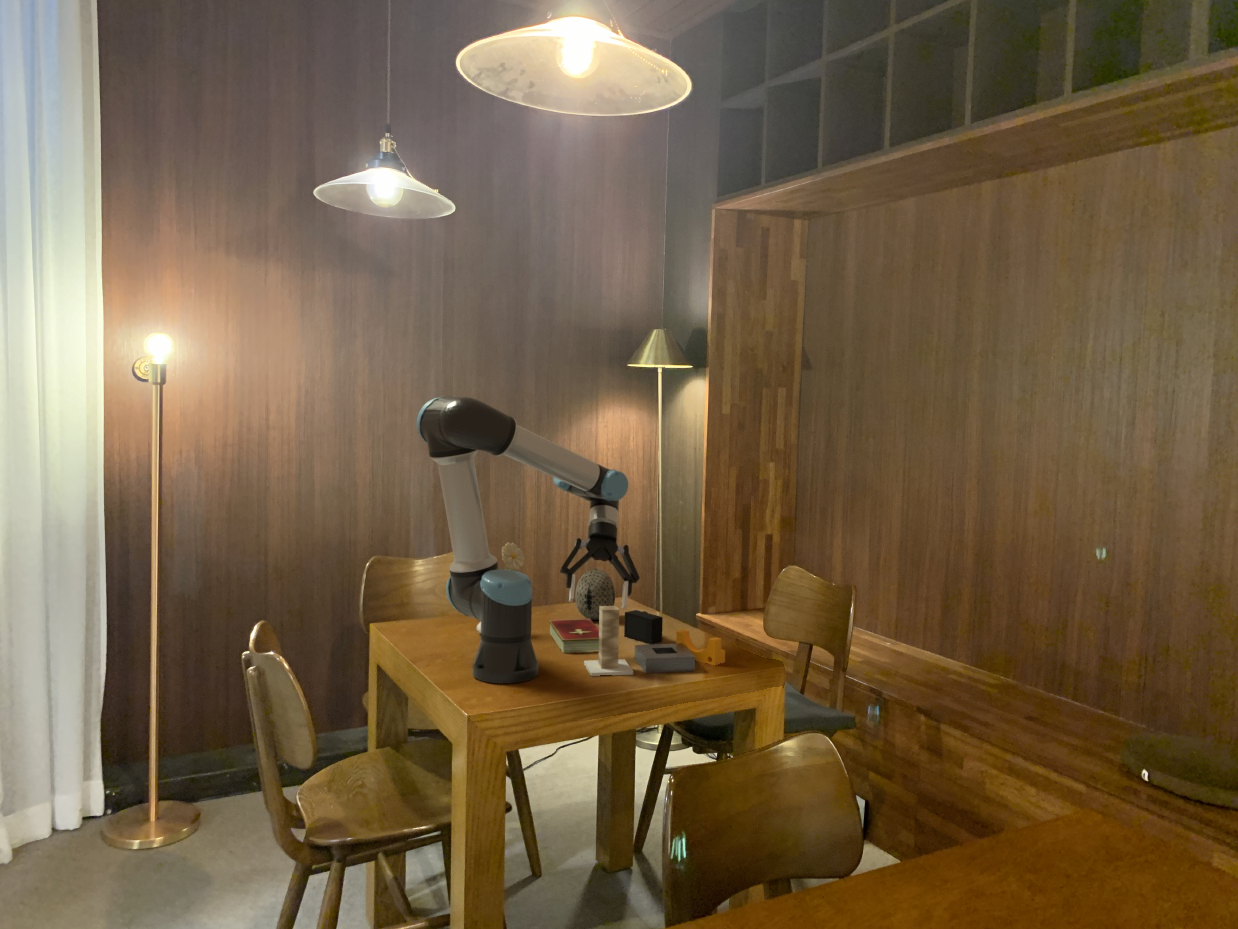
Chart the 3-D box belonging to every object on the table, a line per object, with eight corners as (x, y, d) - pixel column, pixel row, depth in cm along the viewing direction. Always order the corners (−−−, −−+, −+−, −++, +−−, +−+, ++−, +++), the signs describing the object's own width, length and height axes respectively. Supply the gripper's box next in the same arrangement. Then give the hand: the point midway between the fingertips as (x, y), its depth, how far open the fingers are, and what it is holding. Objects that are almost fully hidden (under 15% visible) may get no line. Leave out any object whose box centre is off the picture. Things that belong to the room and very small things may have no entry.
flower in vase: (486, 641, 236) (487, 547, 234) (469, 631, 245) (470, 541, 243) (531, 635, 242) (532, 544, 241) (513, 626, 252) (514, 538, 250)
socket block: (645, 673, 211) (646, 658, 211) (634, 658, 222) (635, 644, 222) (694, 671, 213) (695, 656, 213) (681, 657, 225) (681, 643, 225)
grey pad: (590, 676, 207) (591, 673, 207) (584, 663, 217) (584, 660, 217) (633, 674, 209) (633, 671, 209) (624, 662, 219) (624, 659, 219)
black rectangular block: (665, 641, 239) (666, 616, 239) (651, 645, 236) (652, 619, 235) (638, 634, 247) (639, 608, 246) (624, 637, 243) (624, 611, 243)
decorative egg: (619, 616, 266) (620, 566, 265) (607, 626, 255) (608, 573, 254) (582, 613, 269) (583, 563, 268) (568, 622, 258) (569, 570, 257)
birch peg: (601, 668, 211) (602, 610, 210) (598, 663, 215) (599, 606, 214) (617, 668, 212) (619, 609, 211) (614, 663, 216) (615, 605, 215)
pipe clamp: (724, 663, 221) (725, 637, 221) (714, 666, 218) (715, 640, 218) (686, 653, 229) (687, 628, 229) (676, 656, 226) (676, 631, 226)
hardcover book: (590, 632, 249) (591, 617, 249) (608, 653, 229) (608, 637, 228) (548, 634, 246) (548, 619, 246) (562, 655, 226) (562, 639, 225)
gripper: (645, 538, 239) (642, 614, 229) (553, 525, 235) (546, 602, 225) (653, 527, 233) (649, 605, 223) (558, 513, 228) (551, 592, 218)
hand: (597, 604), depth 224 cm, fingers open, 13 cm apart
